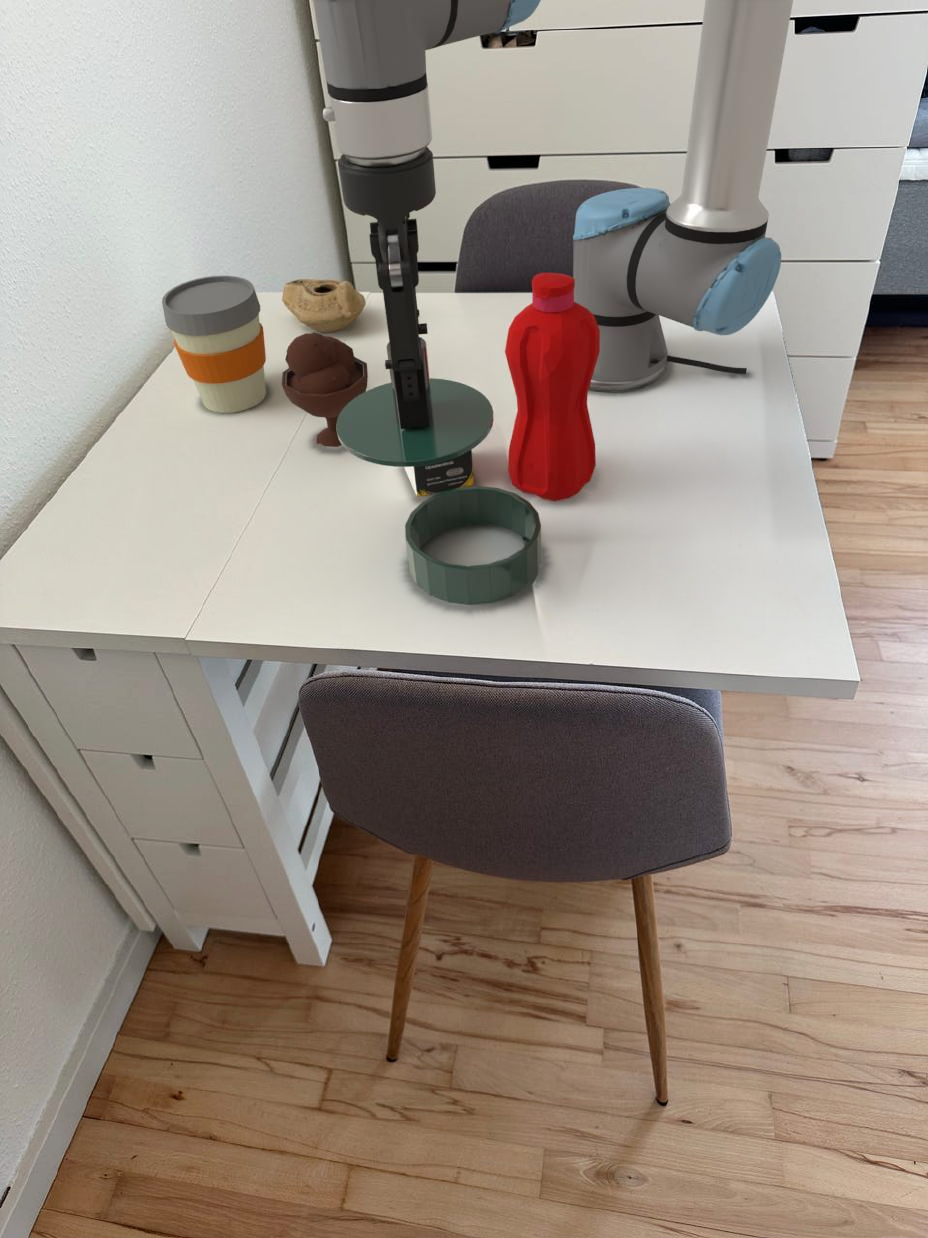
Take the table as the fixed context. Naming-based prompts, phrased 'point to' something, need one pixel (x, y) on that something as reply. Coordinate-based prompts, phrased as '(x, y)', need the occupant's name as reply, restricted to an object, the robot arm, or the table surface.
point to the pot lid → (452, 428)
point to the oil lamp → (323, 303)
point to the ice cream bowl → (323, 379)
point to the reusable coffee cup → (219, 340)
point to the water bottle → (552, 390)
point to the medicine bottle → (442, 475)
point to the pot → (478, 579)
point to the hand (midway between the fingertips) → (414, 413)
